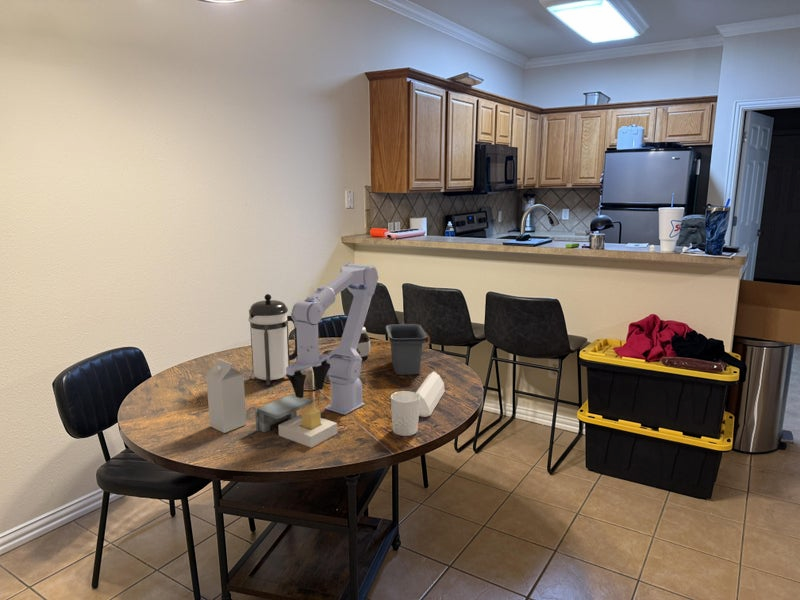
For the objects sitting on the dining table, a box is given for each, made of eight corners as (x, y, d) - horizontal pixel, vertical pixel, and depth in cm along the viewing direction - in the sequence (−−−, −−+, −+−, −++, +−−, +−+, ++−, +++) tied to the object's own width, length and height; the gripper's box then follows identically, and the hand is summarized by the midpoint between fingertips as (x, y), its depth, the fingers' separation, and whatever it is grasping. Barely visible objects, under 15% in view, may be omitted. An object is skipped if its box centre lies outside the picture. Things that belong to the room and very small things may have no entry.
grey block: (291, 414, 158) (290, 393, 157) (313, 421, 153) (312, 400, 152) (256, 430, 148) (254, 407, 146) (278, 439, 143) (277, 415, 141)
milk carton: (232, 418, 155) (227, 355, 151) (246, 425, 151) (242, 360, 147) (209, 426, 150) (204, 361, 146) (224, 433, 146) (219, 366, 142)
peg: (311, 431, 147) (310, 407, 146) (321, 435, 145) (320, 410, 144) (302, 436, 144) (301, 412, 143) (311, 439, 142) (311, 415, 141)
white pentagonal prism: (435, 408, 153) (451, 380, 176) (414, 394, 154) (433, 367, 177) (422, 427, 156) (440, 397, 178) (401, 413, 157) (422, 385, 179)
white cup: (418, 424, 152) (418, 390, 150) (420, 437, 144) (420, 401, 142) (390, 424, 151) (390, 391, 149) (391, 437, 144) (391, 402, 142)
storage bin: (384, 359, 209) (384, 323, 206) (424, 358, 210) (424, 322, 207) (389, 378, 188) (389, 339, 185) (433, 376, 190) (434, 337, 187)
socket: (305, 422, 153) (305, 412, 152) (337, 433, 146) (337, 423, 145) (278, 435, 145) (278, 425, 144) (311, 447, 138) (310, 436, 137)
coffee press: (291, 387, 180) (288, 298, 174) (244, 386, 180) (238, 298, 174) (302, 369, 197) (299, 288, 190) (258, 369, 197) (254, 288, 191)
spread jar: (370, 354, 216) (369, 325, 213) (370, 363, 205) (370, 333, 202) (339, 354, 215) (339, 326, 212) (338, 363, 204) (337, 333, 201)
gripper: (299, 354, 137) (300, 404, 140) (337, 341, 149) (338, 388, 152) (279, 349, 141) (282, 398, 144) (318, 337, 153) (319, 382, 156)
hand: (309, 392), depth 148 cm, fingers open, 7 cm apart
